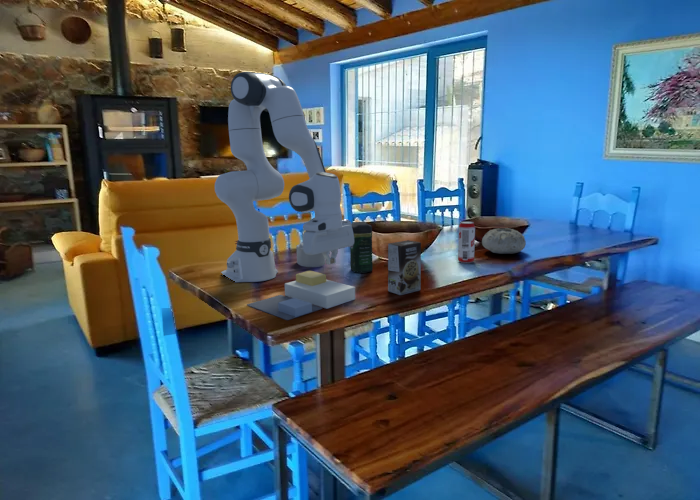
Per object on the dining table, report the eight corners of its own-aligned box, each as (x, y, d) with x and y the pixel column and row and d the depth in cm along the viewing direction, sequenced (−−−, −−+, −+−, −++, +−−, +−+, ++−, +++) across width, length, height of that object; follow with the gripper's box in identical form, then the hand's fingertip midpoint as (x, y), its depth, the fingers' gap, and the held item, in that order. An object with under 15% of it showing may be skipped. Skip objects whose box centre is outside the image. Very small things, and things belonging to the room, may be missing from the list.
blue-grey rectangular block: (294, 297, 153) (294, 305, 154) (278, 302, 149) (278, 310, 150) (311, 303, 148) (312, 311, 148) (295, 308, 144) (296, 316, 144)
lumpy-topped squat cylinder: (318, 258, 215) (317, 238, 213) (330, 265, 203) (329, 244, 201) (294, 261, 211) (293, 241, 209) (305, 268, 199) (304, 247, 197)
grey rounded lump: (530, 257, 208) (532, 233, 206) (486, 257, 209) (487, 233, 207) (517, 248, 226) (519, 225, 224) (477, 248, 226) (478, 226, 224)
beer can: (457, 263, 201) (458, 223, 198) (458, 259, 207) (459, 220, 203) (473, 264, 199) (474, 223, 196) (474, 260, 205) (475, 221, 202)
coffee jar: (375, 272, 191) (374, 223, 187) (354, 274, 189) (353, 224, 185) (368, 266, 200) (367, 219, 196) (348, 268, 198) (347, 220, 194)
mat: (246, 305, 156) (246, 304, 156) (280, 295, 165) (280, 294, 165) (287, 320, 143) (287, 319, 142) (322, 308, 151) (322, 307, 151)
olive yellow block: (296, 281, 167) (295, 274, 166) (310, 277, 171) (309, 270, 170) (312, 286, 161) (311, 278, 160) (326, 282, 165) (326, 274, 165)
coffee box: (400, 295, 162) (400, 246, 159) (387, 291, 167) (387, 243, 164) (421, 290, 167) (421, 242, 164) (408, 286, 172) (408, 239, 169)
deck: (285, 295, 165) (284, 283, 164) (313, 287, 174) (312, 276, 173) (326, 308, 151) (326, 295, 151) (355, 299, 160) (354, 286, 159)
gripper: (344, 218, 177) (346, 257, 179) (298, 225, 163) (301, 268, 165) (357, 219, 172) (359, 259, 175) (311, 227, 158) (314, 270, 161)
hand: (330, 263), depth 170 cm, fingers closed
